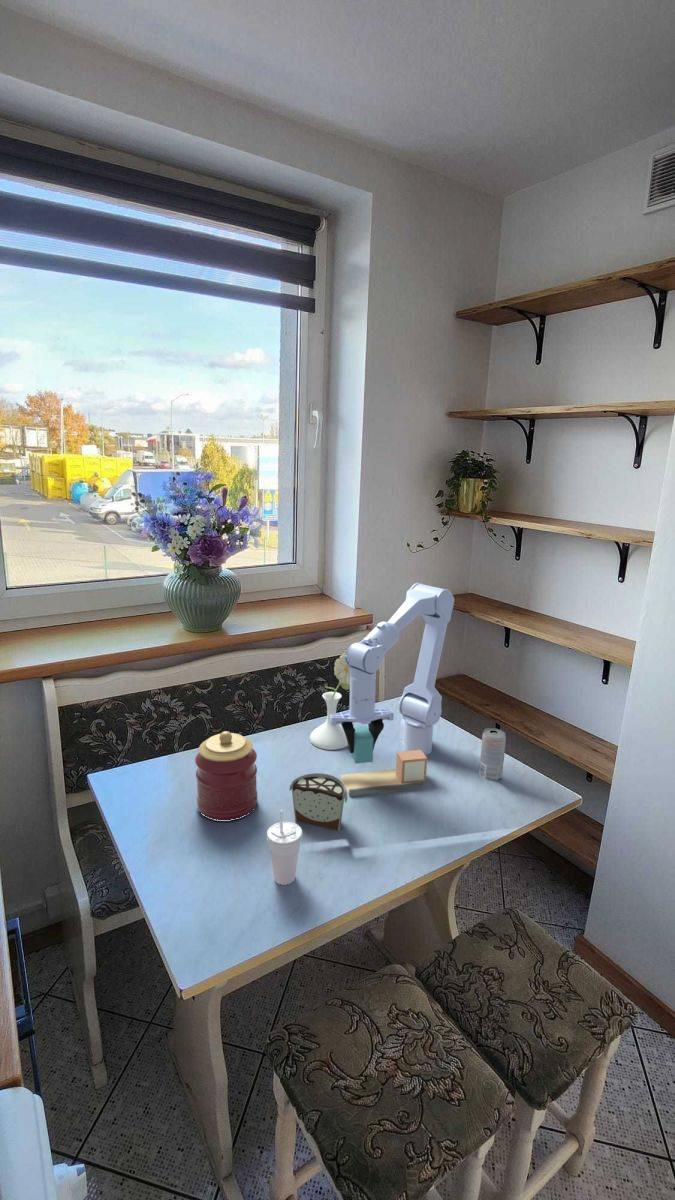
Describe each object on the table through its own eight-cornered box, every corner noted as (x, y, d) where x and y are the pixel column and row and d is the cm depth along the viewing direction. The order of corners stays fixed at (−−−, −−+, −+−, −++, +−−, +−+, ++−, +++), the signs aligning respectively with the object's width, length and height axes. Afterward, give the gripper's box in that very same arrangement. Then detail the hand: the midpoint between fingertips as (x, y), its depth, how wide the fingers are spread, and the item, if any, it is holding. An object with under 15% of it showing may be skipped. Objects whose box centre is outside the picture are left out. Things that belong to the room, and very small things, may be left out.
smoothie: (267, 866, 113) (266, 800, 110) (301, 865, 114) (302, 799, 110) (266, 891, 107) (265, 822, 104) (302, 889, 108) (303, 821, 104)
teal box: (355, 763, 136) (356, 739, 135) (349, 750, 142) (349, 727, 140) (373, 761, 137) (373, 737, 135) (365, 748, 143) (366, 725, 141)
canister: (185, 805, 132) (181, 731, 127) (233, 782, 141) (231, 713, 137) (221, 831, 123) (218, 753, 119) (269, 805, 133) (269, 732, 128)
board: (339, 779, 143) (340, 769, 143) (408, 772, 147) (408, 762, 146) (349, 800, 135) (349, 790, 134) (421, 792, 139) (421, 782, 138)
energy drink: (499, 773, 147) (504, 728, 144) (503, 785, 142) (508, 739, 139) (477, 772, 148) (481, 727, 145) (480, 783, 143) (484, 737, 140)
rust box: (395, 774, 143) (396, 752, 142) (419, 772, 145) (421, 749, 143) (401, 784, 140) (402, 760, 138) (425, 781, 141) (427, 758, 139)
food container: (354, 820, 128) (355, 778, 125) (345, 837, 122) (346, 793, 120) (300, 808, 132) (300, 767, 129) (289, 824, 126) (289, 781, 124)
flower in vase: (314, 756, 153) (315, 664, 147) (305, 735, 164) (306, 648, 158) (363, 751, 156) (366, 660, 150) (352, 731, 167) (354, 645, 161)
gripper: (334, 705, 130) (333, 762, 134) (398, 700, 133) (396, 755, 137) (327, 692, 137) (327, 746, 140) (389, 687, 140) (387, 740, 144)
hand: (360, 750), depth 139 cm, fingers closed on teal box, 4 cm apart
